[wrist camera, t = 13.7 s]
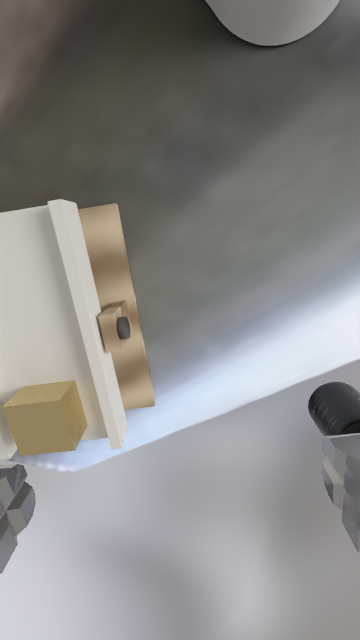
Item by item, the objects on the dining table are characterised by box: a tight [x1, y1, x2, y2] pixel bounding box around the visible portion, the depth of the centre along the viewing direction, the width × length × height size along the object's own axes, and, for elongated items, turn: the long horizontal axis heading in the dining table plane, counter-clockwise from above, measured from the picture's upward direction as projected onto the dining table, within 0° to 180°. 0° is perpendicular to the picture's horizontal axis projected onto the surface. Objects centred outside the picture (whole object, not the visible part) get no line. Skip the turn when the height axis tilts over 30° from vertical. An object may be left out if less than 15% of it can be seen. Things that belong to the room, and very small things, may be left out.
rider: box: [2, 380, 88, 456], centre depth 31 cm, size 6×6×4 cm
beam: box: [0, 199, 128, 460], centre depth 31 cm, size 26×14×4 cm, turn 8°
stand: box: [78, 203, 155, 409], centre depth 34 cm, size 26×20×8 cm
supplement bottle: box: [308, 382, 360, 436], centre depth 34 cm, size 7×7×12 cm
